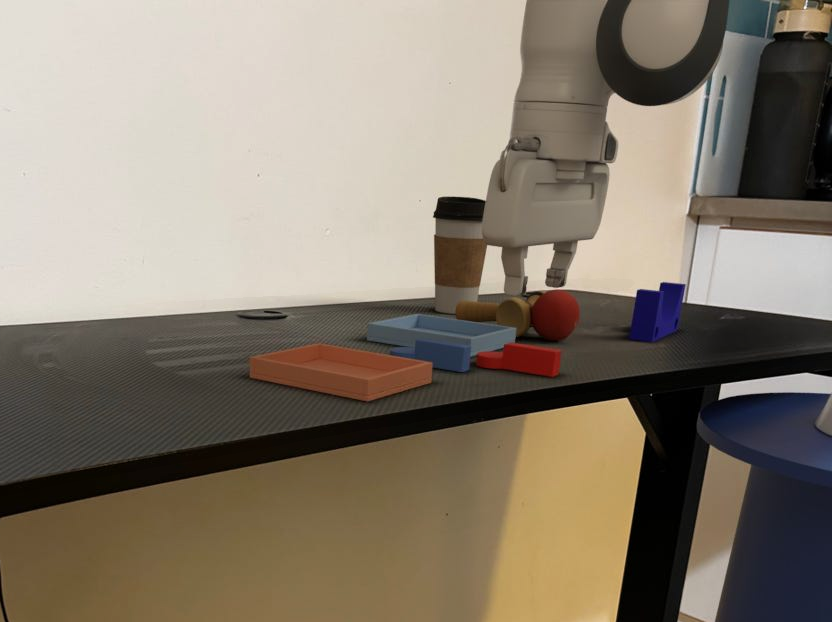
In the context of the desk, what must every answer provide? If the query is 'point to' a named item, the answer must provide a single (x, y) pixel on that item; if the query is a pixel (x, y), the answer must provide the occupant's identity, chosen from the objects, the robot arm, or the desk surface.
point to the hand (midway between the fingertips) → (535, 290)
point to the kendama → (528, 313)
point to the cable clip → (657, 312)
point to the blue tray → (440, 332)
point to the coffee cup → (458, 251)
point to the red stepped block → (522, 359)
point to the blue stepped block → (437, 354)
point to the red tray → (341, 371)
